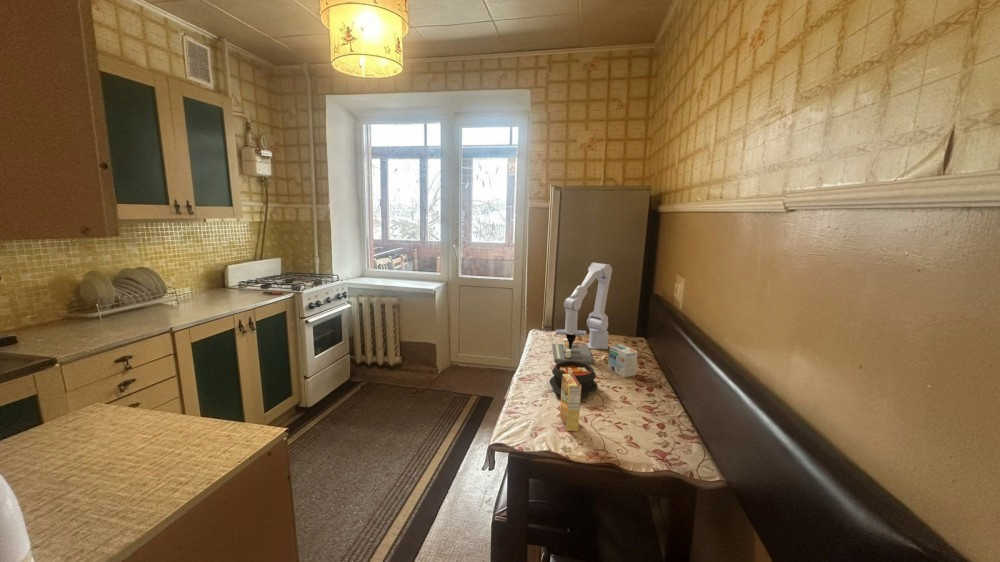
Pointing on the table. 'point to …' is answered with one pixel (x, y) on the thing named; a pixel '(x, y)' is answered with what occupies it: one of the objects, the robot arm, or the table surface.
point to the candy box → (570, 402)
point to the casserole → (581, 373)
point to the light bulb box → (622, 360)
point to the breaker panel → (572, 353)
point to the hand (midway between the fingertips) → (570, 349)
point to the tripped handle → (565, 346)
